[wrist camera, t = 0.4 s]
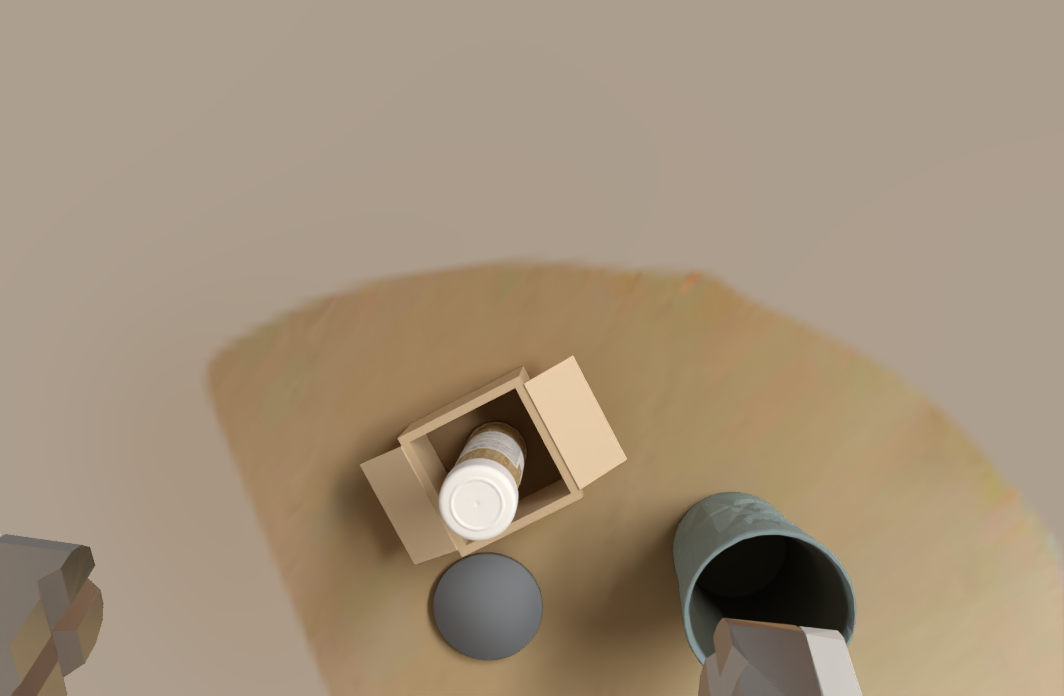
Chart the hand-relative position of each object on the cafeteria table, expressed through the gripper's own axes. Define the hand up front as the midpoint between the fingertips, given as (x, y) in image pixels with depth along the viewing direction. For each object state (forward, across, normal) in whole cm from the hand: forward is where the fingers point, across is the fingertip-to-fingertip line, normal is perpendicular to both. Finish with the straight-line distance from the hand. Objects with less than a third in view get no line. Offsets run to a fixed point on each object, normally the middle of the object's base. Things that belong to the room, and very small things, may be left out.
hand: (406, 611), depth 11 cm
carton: (+41, +1, -31) cm, 52 cm away
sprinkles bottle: (+42, +1, -31) cm, 52 cm away
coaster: (+36, +2, -42) cm, 55 cm away
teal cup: (+39, +19, -35) cm, 56 cm away
